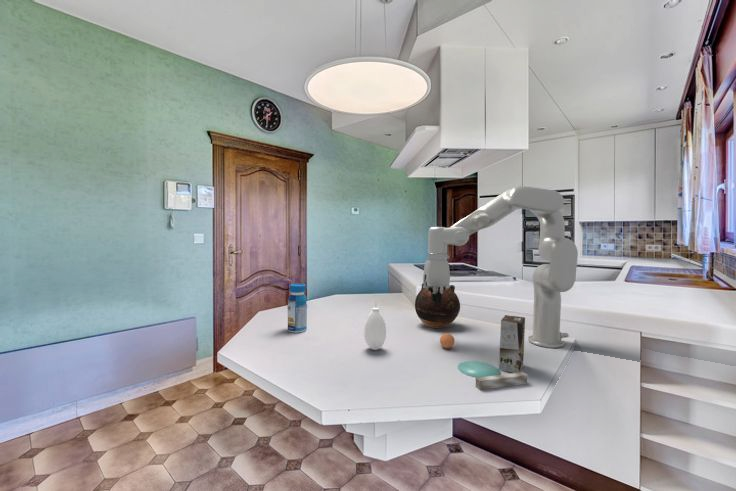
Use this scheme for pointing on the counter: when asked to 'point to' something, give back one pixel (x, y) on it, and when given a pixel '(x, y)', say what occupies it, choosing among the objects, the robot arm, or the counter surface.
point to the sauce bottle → (375, 329)
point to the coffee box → (512, 343)
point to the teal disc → (478, 369)
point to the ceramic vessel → (437, 307)
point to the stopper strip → (501, 380)
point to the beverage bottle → (297, 309)
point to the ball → (447, 340)
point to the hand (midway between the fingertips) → (436, 302)
